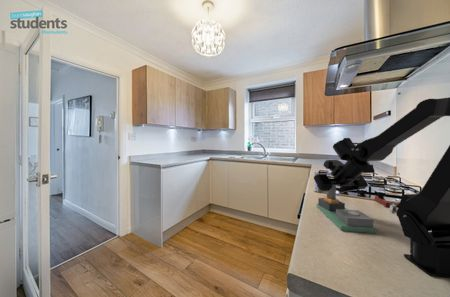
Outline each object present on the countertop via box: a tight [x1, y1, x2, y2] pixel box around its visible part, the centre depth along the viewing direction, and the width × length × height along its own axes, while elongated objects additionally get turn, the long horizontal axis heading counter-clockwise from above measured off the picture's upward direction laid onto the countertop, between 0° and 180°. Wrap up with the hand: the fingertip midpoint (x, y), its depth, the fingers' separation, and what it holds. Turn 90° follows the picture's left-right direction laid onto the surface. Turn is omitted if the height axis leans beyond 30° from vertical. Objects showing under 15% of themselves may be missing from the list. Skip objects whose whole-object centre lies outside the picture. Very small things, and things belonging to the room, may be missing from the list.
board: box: [316, 203, 377, 234], centre depth 64 cm, size 21×10×2 cm, turn 171°
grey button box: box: [336, 209, 375, 227], centre depth 58 cm, size 8×8×3 cm
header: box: [317, 197, 346, 211], centre depth 70 cm, size 7×6×3 cm
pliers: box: [374, 195, 400, 213], centre depth 75 cm, size 12×20×3 cm, turn 141°
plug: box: [323, 185, 340, 203], centre depth 70 cm, size 4×4×12 cm
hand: (329, 191), depth 71 cm, fingers open, 9 cm apart
